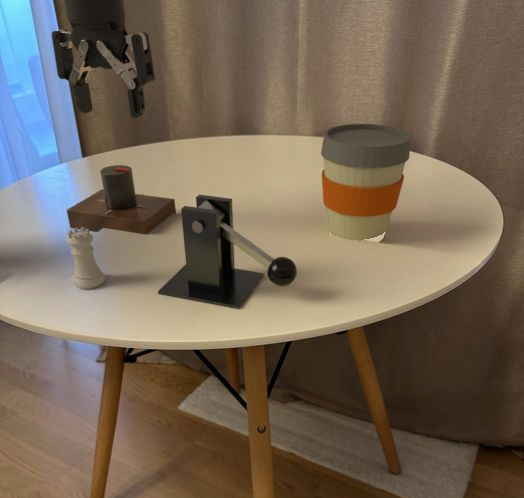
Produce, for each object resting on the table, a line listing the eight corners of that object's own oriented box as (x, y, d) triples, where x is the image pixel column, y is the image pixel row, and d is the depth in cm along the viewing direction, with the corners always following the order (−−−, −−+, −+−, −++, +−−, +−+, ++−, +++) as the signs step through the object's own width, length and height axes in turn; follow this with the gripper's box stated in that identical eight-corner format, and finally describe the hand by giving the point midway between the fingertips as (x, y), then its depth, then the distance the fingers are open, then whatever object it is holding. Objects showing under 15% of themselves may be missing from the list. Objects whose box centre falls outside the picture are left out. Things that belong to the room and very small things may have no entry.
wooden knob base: (70, 227, 88) (65, 208, 86) (104, 205, 96) (101, 188, 94) (146, 239, 84) (144, 220, 83) (176, 216, 92) (174, 197, 90)
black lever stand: (263, 281, 74) (263, 196, 67) (238, 315, 67) (235, 224, 60) (189, 269, 77) (182, 185, 70) (158, 300, 70) (146, 211, 63)
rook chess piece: (65, 292, 71) (51, 235, 67) (87, 277, 75) (75, 222, 70) (93, 299, 70) (80, 241, 65) (114, 284, 73) (104, 227, 68)
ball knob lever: (291, 283, 69) (306, 263, 67) (282, 297, 66) (297, 277, 64) (198, 216, 68) (210, 194, 66) (185, 227, 65) (197, 204, 63)
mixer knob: (100, 207, 87) (93, 170, 84) (116, 197, 91) (110, 161, 87) (126, 211, 86) (120, 174, 82) (142, 200, 90) (137, 164, 86)
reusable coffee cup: (409, 228, 87) (425, 130, 79) (377, 258, 79) (391, 152, 70) (338, 212, 93) (346, 119, 84) (301, 238, 85) (306, 138, 76)
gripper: (154, -22, 71) (167, 112, 80) (62, -23, 75) (85, 105, 84) (123, -19, 65) (141, 124, 75) (25, -21, 69) (54, 116, 79)
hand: (111, 114), depth 79 cm, fingers open, 8 cm apart
